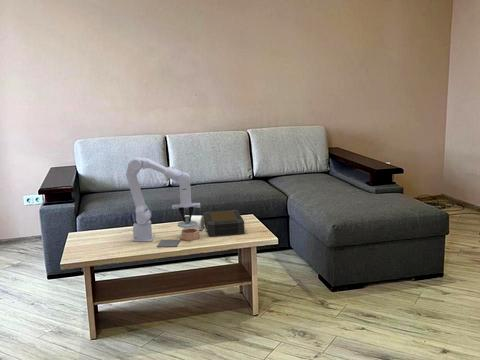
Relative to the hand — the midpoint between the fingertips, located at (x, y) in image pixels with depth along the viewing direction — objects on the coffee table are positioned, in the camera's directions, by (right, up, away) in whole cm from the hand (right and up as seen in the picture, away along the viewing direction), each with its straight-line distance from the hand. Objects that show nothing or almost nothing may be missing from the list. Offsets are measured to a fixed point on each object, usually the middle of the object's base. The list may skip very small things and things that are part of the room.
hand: (187, 221), depth 262 cm
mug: (+2, -6, +20) cm, 21 cm away
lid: (0, -2, +1) cm, 2 cm away
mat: (-9, -11, -5) cm, 15 cm away
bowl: (+2, -9, +3) cm, 10 cm away
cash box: (+19, -6, +17) cm, 26 cm away
